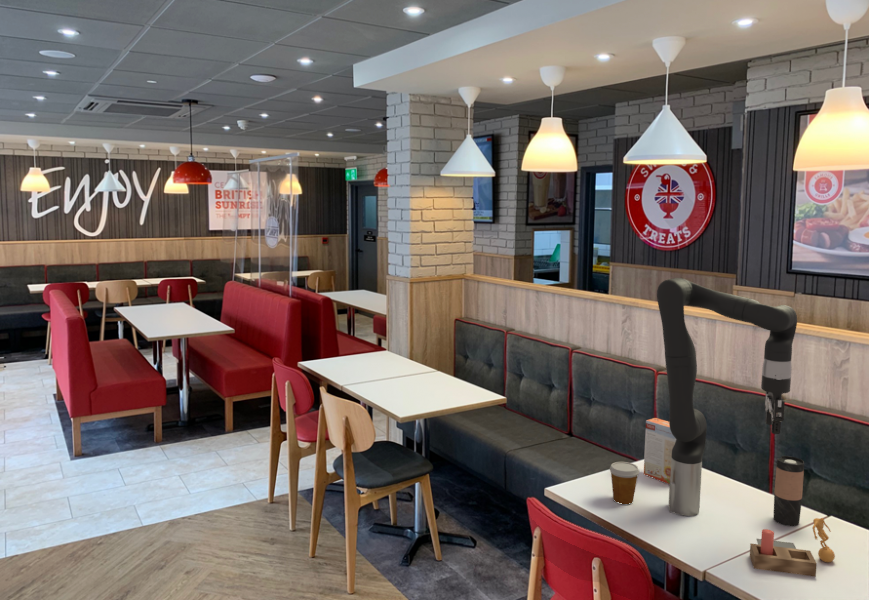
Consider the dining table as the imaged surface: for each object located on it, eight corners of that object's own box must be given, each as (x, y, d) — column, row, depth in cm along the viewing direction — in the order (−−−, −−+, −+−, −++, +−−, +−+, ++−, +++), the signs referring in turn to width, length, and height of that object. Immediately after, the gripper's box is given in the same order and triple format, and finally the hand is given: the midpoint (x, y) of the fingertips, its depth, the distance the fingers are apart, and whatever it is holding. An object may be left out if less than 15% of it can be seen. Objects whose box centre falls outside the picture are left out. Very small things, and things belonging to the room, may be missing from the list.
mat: (760, 552, 194) (761, 551, 194) (756, 539, 202) (756, 538, 202) (799, 557, 192) (800, 556, 192) (793, 543, 199) (793, 542, 199)
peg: (760, 566, 187) (763, 533, 186) (758, 561, 190) (760, 528, 188) (772, 568, 186) (775, 535, 185) (770, 562, 189) (772, 530, 188)
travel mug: (803, 528, 209) (808, 465, 206) (776, 526, 210) (780, 463, 208) (795, 517, 216) (800, 456, 214) (769, 515, 218) (773, 454, 215)
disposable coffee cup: (626, 493, 235) (627, 459, 233) (644, 504, 226) (645, 469, 224) (602, 497, 231) (603, 463, 230) (619, 508, 222) (621, 473, 221)
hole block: (753, 569, 185) (754, 555, 185) (749, 556, 192) (750, 543, 192) (815, 577, 181) (816, 563, 181) (809, 564, 188) (810, 550, 187)
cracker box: (686, 483, 243) (689, 426, 240) (675, 487, 239) (678, 429, 236) (653, 471, 254) (656, 416, 251) (642, 474, 251) (645, 419, 248)
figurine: (826, 569, 185) (829, 527, 184) (803, 560, 190) (806, 519, 189) (840, 559, 190) (843, 519, 189) (817, 551, 195) (821, 511, 194)
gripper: (757, 368, 205) (754, 420, 207) (766, 379, 192) (763, 435, 194) (785, 369, 203) (781, 422, 205) (796, 381, 190) (792, 438, 192)
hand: (772, 428), depth 200 cm, fingers open, 8 cm apart
